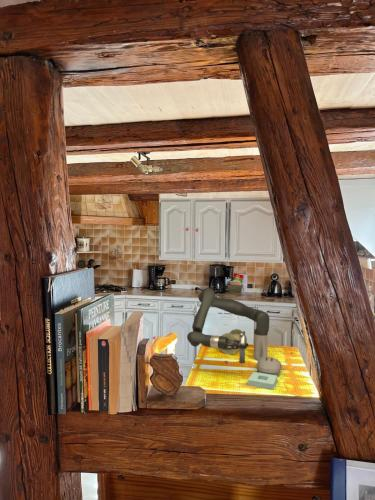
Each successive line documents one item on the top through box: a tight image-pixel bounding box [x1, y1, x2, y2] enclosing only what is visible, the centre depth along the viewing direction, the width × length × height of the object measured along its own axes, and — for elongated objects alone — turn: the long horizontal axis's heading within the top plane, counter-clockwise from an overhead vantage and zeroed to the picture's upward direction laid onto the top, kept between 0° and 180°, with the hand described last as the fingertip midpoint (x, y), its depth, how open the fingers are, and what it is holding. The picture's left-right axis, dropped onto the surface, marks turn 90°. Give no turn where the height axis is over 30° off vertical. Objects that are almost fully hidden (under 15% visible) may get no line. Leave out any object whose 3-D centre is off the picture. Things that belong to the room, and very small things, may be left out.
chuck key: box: [238, 330, 246, 364], centre depth 196 cm, size 7×3×18 cm, turn 156°
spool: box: [220, 328, 248, 356], centre depth 249 cm, size 16×15×15 cm
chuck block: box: [247, 371, 278, 391], centre depth 191 cm, size 14×14×3 cm
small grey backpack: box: [256, 356, 282, 377], centre depth 208 cm, size 15×8×20 cm
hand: (247, 346), depth 195 cm, fingers closed on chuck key, 3 cm apart
